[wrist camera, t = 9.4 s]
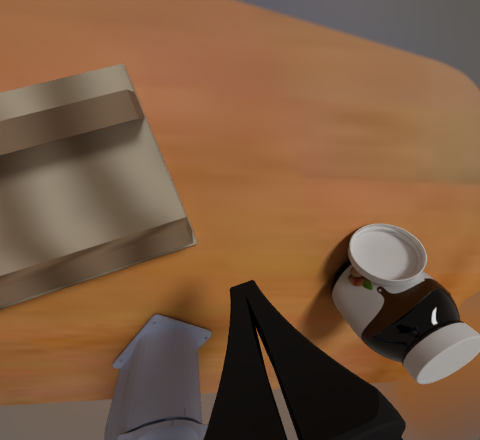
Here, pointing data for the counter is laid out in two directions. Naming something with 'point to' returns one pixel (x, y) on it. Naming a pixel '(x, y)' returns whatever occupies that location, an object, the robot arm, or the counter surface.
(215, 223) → the counter surface
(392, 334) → the spread jar
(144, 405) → the robot arm
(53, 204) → the channel
